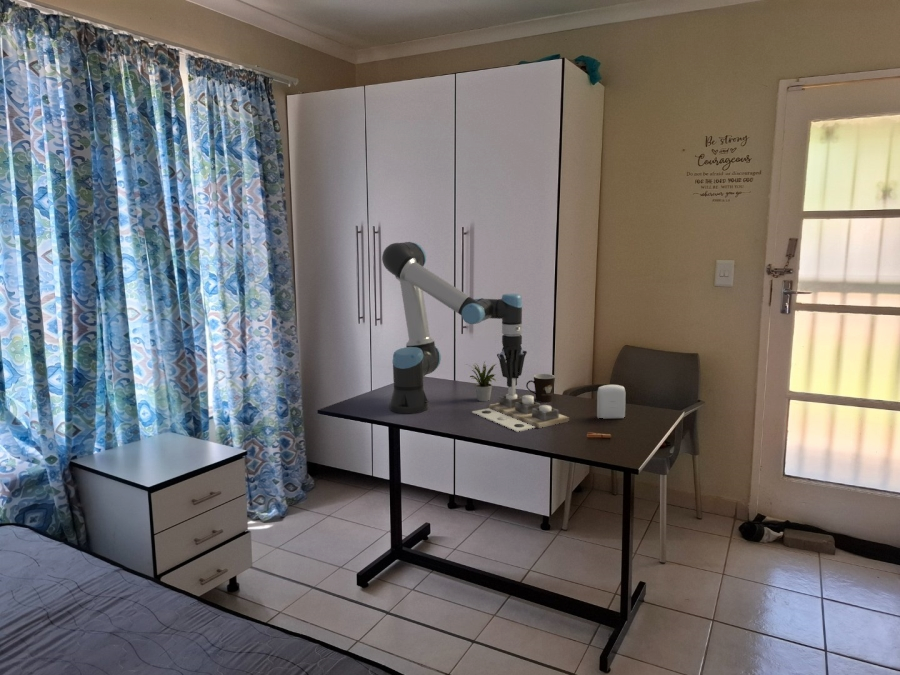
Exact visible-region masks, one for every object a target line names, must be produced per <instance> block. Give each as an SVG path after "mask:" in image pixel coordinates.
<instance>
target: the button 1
mask: <svg viewBox="0 0 900 675" xmlns="http://www.w3.org/2000/svg"><path fill="white" fill-rule="evenodd" d="M505 396H506V398H507V399H510V400H512V399H517V396H518V394H517V393H516V395H510V394H508V393H506V394H505Z"/></svg>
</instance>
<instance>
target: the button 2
mask: <svg viewBox="0 0 900 675" xmlns="http://www.w3.org/2000/svg"><path fill="white" fill-rule="evenodd" d="M552 408H553V407H552V405H547V404H541V406H539V410H540V411H542V412H548V411H552Z"/></svg>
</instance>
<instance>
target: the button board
mask: <svg viewBox="0 0 900 675" xmlns="http://www.w3.org/2000/svg"><path fill="white" fill-rule="evenodd" d="M541 405H542V403H541V402H538V401H534V404H533V405H529V406H526V405H523V404H522V396H520V395H517V399H512V400H510V399H507V398H506V395H501V396H499V400H498V402H496V403H490V404H489V408H491V409H493V410H496V411H498V412H501V413H503V414H506V415H508V416H510V417H513V418H515V419H518V420H520V421H523V422H525V423H528V424H530V425H533V426H535V428H538V429H542V427H543V428H546V427H551V426H555V424H556V425H560V424H564V423H568V421H569V422H570V417H569V416H566V415H563V414H561V413H560V410H559V409H557V408H554V407H552V411H548V412H542V411H540V410H539V406H541ZM559 423H560V424H559Z"/></svg>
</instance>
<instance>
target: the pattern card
mask: <svg viewBox="0 0 900 675" xmlns="http://www.w3.org/2000/svg"><path fill="white" fill-rule="evenodd" d="M471 414H474V415H476V414H477V415H476V416H478V415H479V416H478V417H480V418H483V419H485V418H486V419H485V420H487V421H490V422H492V421H493V422H492V423H495V424H497V423H498V425H499V424H500V425H499V426H502V427H504V426H505V427H504V428H506V427H507V429H509V430H511V429H512V430H511V431H513V430H514V432H516V433H519V431H520V432H524V431H529V430H532V428H533V429H535V428H536V427H535V426H532V425H530V424H527V423H525V422H522V421H520V420H517V419H515V418H512V417H510V416H507V415H505V414H502V413H500V412H497V411H495V410H492V409H490V407H488V408H487V407H486V408H483V409H477V410H472V411H471ZM528 429H529V430H528Z"/></svg>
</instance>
